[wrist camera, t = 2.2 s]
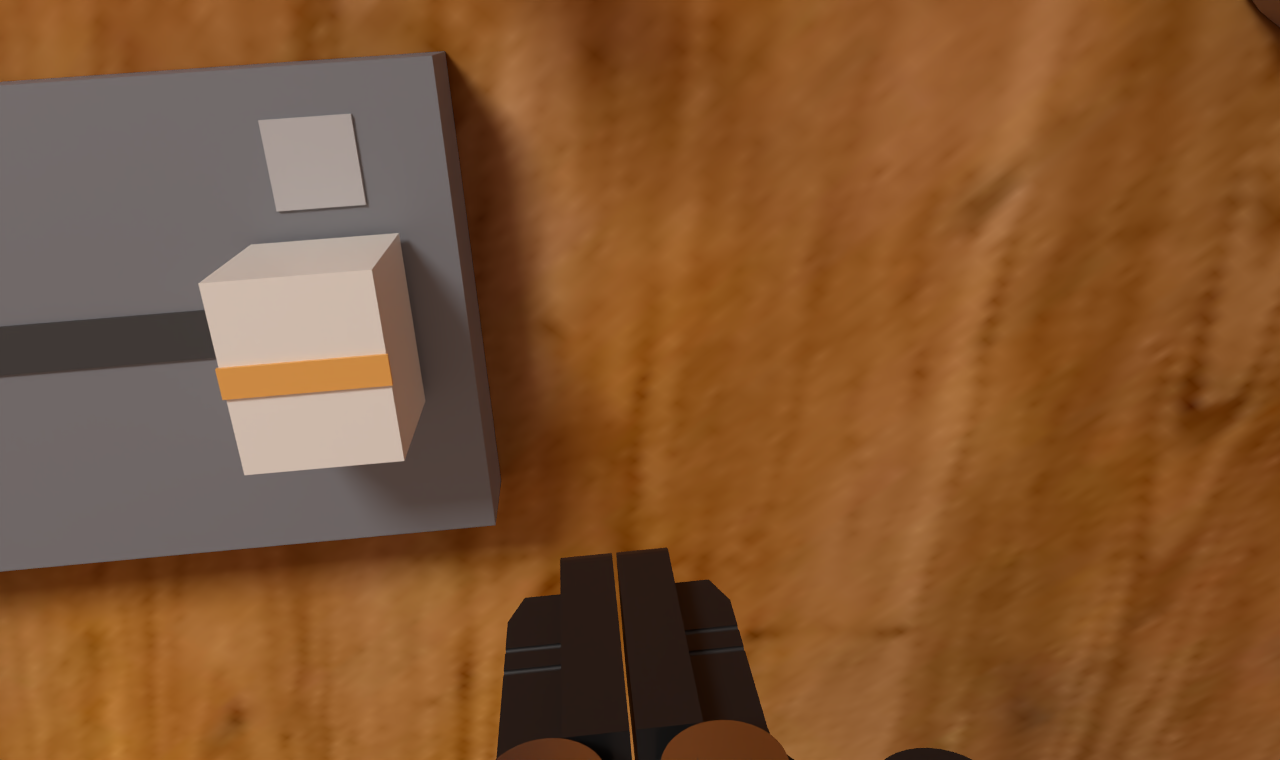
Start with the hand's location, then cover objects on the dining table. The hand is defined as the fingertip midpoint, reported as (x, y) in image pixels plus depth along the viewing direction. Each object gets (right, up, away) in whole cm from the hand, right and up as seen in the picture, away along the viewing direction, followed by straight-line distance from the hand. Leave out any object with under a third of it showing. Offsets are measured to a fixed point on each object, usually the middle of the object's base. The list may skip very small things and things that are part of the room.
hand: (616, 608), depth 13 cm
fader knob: (-8, +5, +13) cm, 16 cm away
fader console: (-15, +5, +16) cm, 23 cm away
